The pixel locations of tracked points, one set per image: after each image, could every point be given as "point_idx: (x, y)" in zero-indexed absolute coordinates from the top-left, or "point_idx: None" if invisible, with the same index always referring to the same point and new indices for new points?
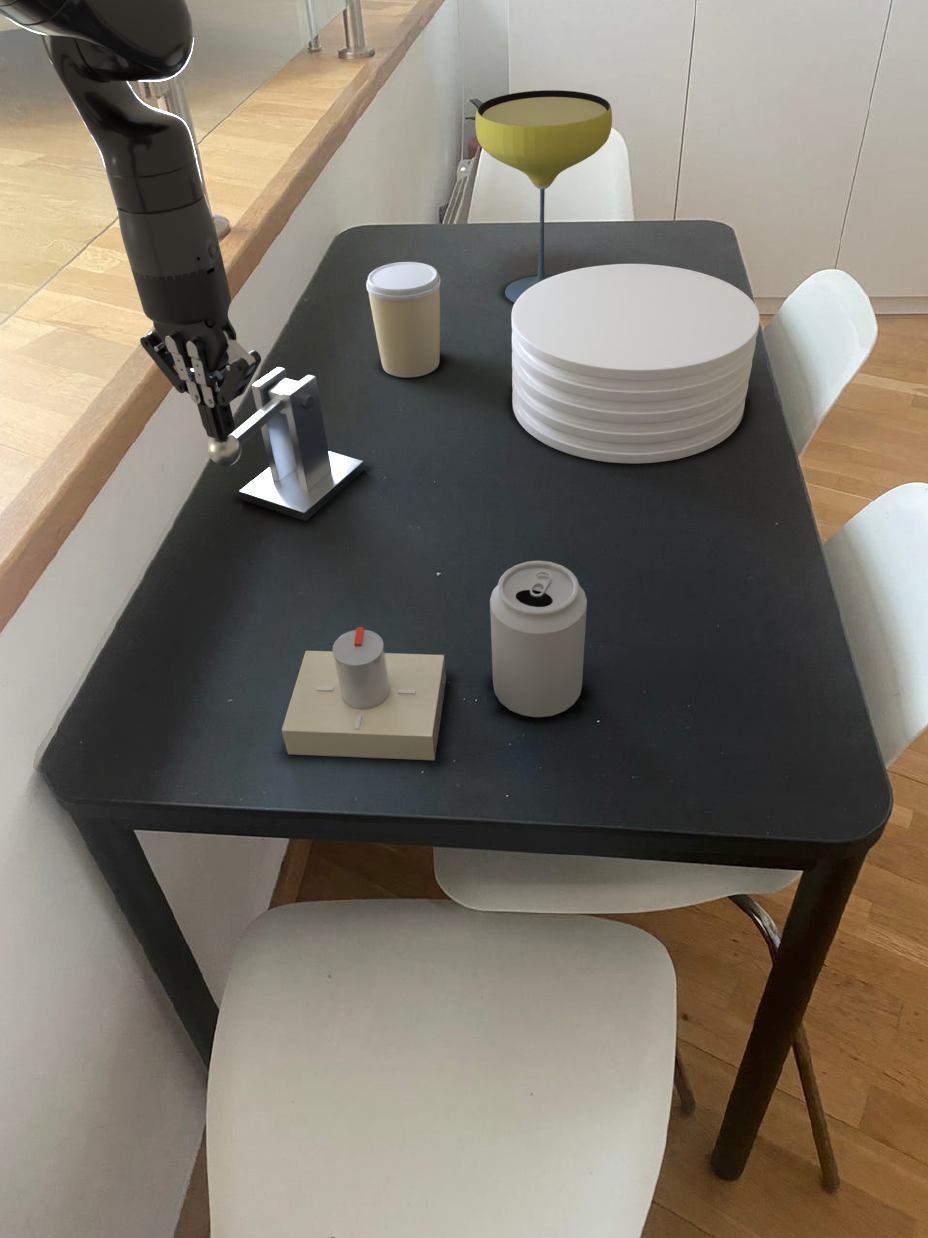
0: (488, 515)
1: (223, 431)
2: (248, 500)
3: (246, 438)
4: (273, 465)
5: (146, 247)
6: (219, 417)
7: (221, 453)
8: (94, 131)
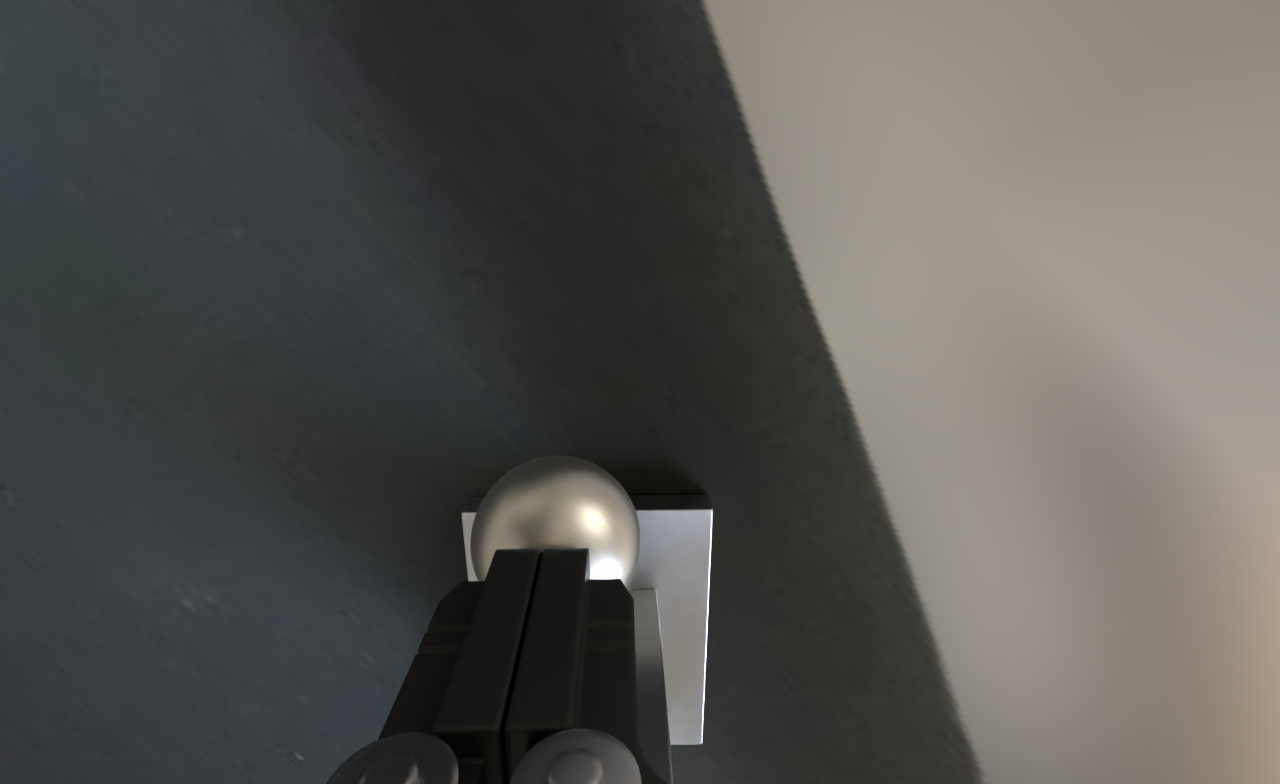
0: (82, 709)
1: (456, 600)
2: (679, 497)
3: None
4: (640, 627)
5: None
6: (428, 678)
7: (504, 492)
8: None
